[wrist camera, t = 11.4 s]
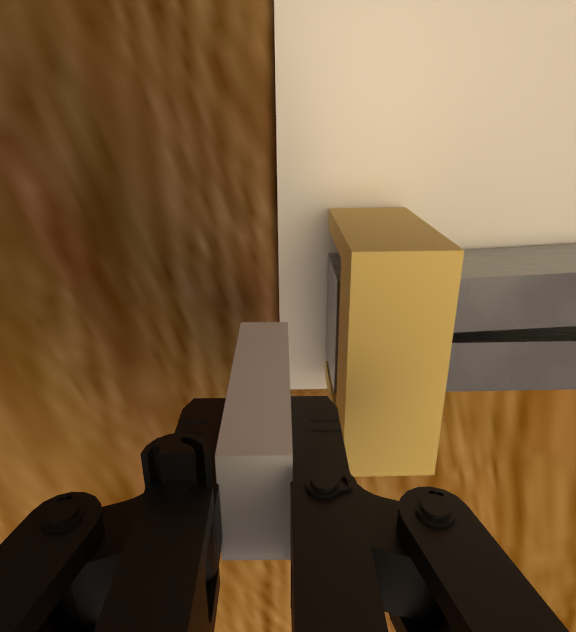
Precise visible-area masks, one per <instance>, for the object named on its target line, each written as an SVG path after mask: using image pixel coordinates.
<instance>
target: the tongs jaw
mask: <svg viewBox="0 0 576 632" xmlns="http://www.w3.org/2000/svg"><path fill="white" fill-rule="evenodd" d="M568 326H576V244H563V245H545V246H527V247H508V248H490V249H472V250H464V257H463V264H462V272H461V279H460V287H459V294H458V302H457V309H456V317H455V324H454V332H453V333H457V332H475V331H494V330H513V329H531V328H550V327H568Z"/></svg>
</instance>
